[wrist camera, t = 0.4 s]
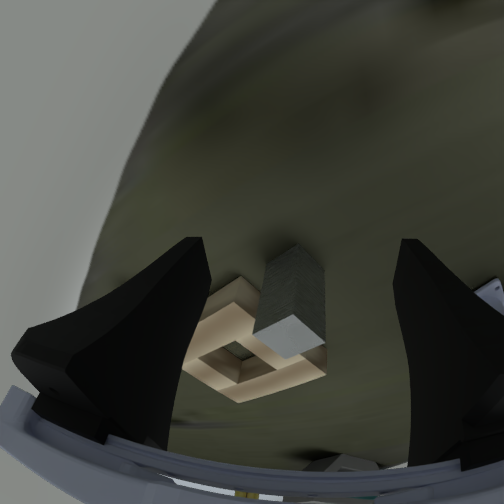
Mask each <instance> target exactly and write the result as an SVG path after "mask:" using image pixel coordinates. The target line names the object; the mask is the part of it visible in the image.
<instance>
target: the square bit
mask: <svg viewBox="0 0 504 504" xmlns="http://www.w3.org/2000/svg"><path fill="white" fill-rule="evenodd" d="M252 335H253V336H254V337H256V338H257V339H258V340H260V341H261V342H262V343H264V344H265V345H266V346H268V347H269V348H270V349H272V350H273V351H274V352H276V353H277V354H279V355H280V356H281V357H283V358H284V359H285V360H286V359H288V358H291V357H293V356H296V355H298V354H300V353H303V352H305V351H307V350H310V349H312V348H314V347H317V346H319V345H321V344H324V343H326V315H325V270H324V269H323V268H322V267H321V266H320V265H319V264H318V263H317V262H316V261H315V260H314V259H313V258H312V257H311V256H310V255H309V254H308V253H307V252H306V251H305V249H304V248H303V247H302V246H301V245H300V244H299V243H298V244H297V245H295V246H294V247H292V248H291V249H289V250H288V251H286V252H284V253H283V254H281V255H280V256H278V257H277V258H275V259H274V260H272V261H271V262H269V263H268V264H266V269H265V274H264V279H263V284H262V289H261V294H260V299H259V303H258V308H257V313H256V318H255V323H254V328H253V333H252Z"/></svg>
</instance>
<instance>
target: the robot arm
mask: <svg viewBox="0 0 504 504" xmlns="http://www.w3.org/2000/svg"><path fill="white" fill-rule="evenodd" d="M211 281H212V279H211V275H210V270H209V266H208V262H207V257H206V253H205V249H204V244H203V240H202V237H186V238H184V239H183V240H181V241H180V242H179V243H177V244H176V245H175V246H173V247H172V248H171V249H169V250H168V251H167V252H166V253H164V254H163V255H162V256H161V257H159V258H158V259H157V260H155V261H154V262H153V263H152V264H150V265H149V266H148V267H146V268H145V269H144V270H142V271H141V272H139V273H138V274H137V275H135V276H134V277H133V278H131V279H130V280H129V281H127V282H126V283H124V284H123V285H121V286H120V287H118V288H116V289H115V290H113V291H112V292H110V293H108V294H107V295H105V296H103V297H102V298H100V299H98V300H96V301H94V302H92V303H90V304H88V305H86V306H84V307H83V308H80V309H78V310H76V311H74V312H72V313H69V314H67V315H65V316H62V317H60V318H57V319H55V320H52V321H49V322H46V323H43V324H40V325H37V326H35V327H31V328H28V329H27V330H26V332H25V333H24V335H23V336H22V337H21V339H20V341H19V342H18V343H17V345H16V346H15V348H14V349H13V351H12V353H11V357H12V360H13V362H14V364H15V365H16V367H17V368H18V369H19V370H20V372H21V373H22V374H23V375H24V376H25V377H26V378H27V379H28V380H29V382H30V383H31V384H32V385H33V386H34V387H35V388H36V389H37V390H38V391H39V392H40V393H39V395H38V397H37V398H35V397H34V396H32V395H31V394H30V393H28V392H25V391H24V390H22V389H20V388H18V387H16V386H14V385H12V386H11V388H10V390H9V391H8V393H7V395H6V397H5V399H4V400H3V402H2V404H1V406H0V447H1V448H2V449H3V450H5V451H6V452H7V453H8V454H10V455H11V456H12V457H14V458H15V459H16V460H17V461H19V462H20V463H21V464H23V465H24V466H26V467H27V468H28V469H30V470H31V471H33V472H34V473H36V474H37V475H38V476H40V477H42V478H43V479H44V480H46V481H47V482H49V483H51V484H52V485H54V486H55V487H57V488H59V489H60V490H62V491H64V492H65V493H67V494H69V495H71V496H72V497H74V498H76V499H77V500H79V501H81V502H83V503H85V504H316V503H294V502H279V501H268V500H259V499H251V498H244V497H237V496H230V495H224V494H218V493H213V492H208V491H204V490H199V489H194V488H190V487H186V486H182V485H177V484H176V483H175V482H174V481H173V480H172V479H171V478H168V477H172V478H176V479H180V480H184V481H189V482H193V483H198V484H202V485H207V486H212V487H217V488H223V489H228V490H235V491H241V492H249V493H257V494H265V495H276V496H289V497H311V498H345V497H366V496H377V497H376V498H375V499H374V503H372V504H504V292H503V289H502V285H501V282H500V280H499V279H498V278H495V279H494V280H492V281H490V282H489V283H487V284H486V285H484V286H483V287H481V288H479V289H478V290H476V291H474V292H473V291H472V290H471V289H470V288H469V287H468V286H466V285H465V284H464V283H463V282H462V281H461V280H460V279H459V278H458V277H457V276H456V275H455V274H454V273H453V272H451V271H450V270H449V269H448V268H447V267H446V266H445V265H444V264H443V263H442V262H441V261H440V260H439V259H438V258H437V257H436V256H435V255H434V254H433V253H432V252H431V251H430V250H429V249H428V248H427V247H426V246H425V245H424V244H423V243H422V242H420V241H419V240H418V239H402V240H401V246H400V251H399V256H398V261H397V266H396V271H395V275H394V280H393V290H394V298H395V305H396V310H397V314H398V319H399V323H400V327H401V331H402V335H403V340H404V344H405V349H406V353H407V358H408V364H409V373H410V388H411V433H410V447H409V457H408V466H407V467H405V468H396V469H386V470H373V471H352V472H310V471H289V470H276V469H265V468H256V467H247V466H240V465H233V464H226V463H220V462H214V461H209V460H204V459H199V458H194V457H189V456H184V455H180V454H176V453H172V452H168V451H167V445H168V437H169V430H170V423H171V417H172V411H173V406H174V400H175V396H176V391H177V386H178V382H179V378H180V374H181V370H182V366H183V362H184V359H185V356H186V353H187V350H188V347H189V345H190V342H191V340H192V337H193V335H194V332H195V330H196V327H197V325H198V322H199V320H200V317H201V315H202V312H203V310H204V307H205V304H206V301H207V297H208V294H209V289H210V285H211ZM157 473H158V474H157ZM160 474H162V475H165V476H168V477H165V476H162V475H160ZM379 495H382V496H379Z"/></svg>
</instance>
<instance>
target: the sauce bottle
mask: <svg viewBox="0 0 504 504" xmlns="http://www.w3.org/2000/svg"><path fill="white" fill-rule="evenodd" d="M235 496H237V497H244V498H251V499H258V498H259V494H257V493H249V492H241V491H235Z"/></svg>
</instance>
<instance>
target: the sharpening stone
mask: <svg viewBox="0 0 504 504" xmlns="http://www.w3.org/2000/svg"><path fill="white" fill-rule="evenodd" d="M373 470H380V469H379V467H378V466H377V464H376V462H373V461H369V460H365V459H361V458H357V457H353V456H349V455H345V454H340V455H336V456H332V457H328V458H324V459H320V460H316V461H313V462H312V463H310V464H309V465H308V466H307V467H306V468H304V469H303V470H302V471H310V472H352V471H373ZM379 496H381V495H379ZM376 497H377V496H366V497H345V498H311V497H289V496H283V502H294V503H316V504H372V503H374V499H375V498H376Z"/></svg>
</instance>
